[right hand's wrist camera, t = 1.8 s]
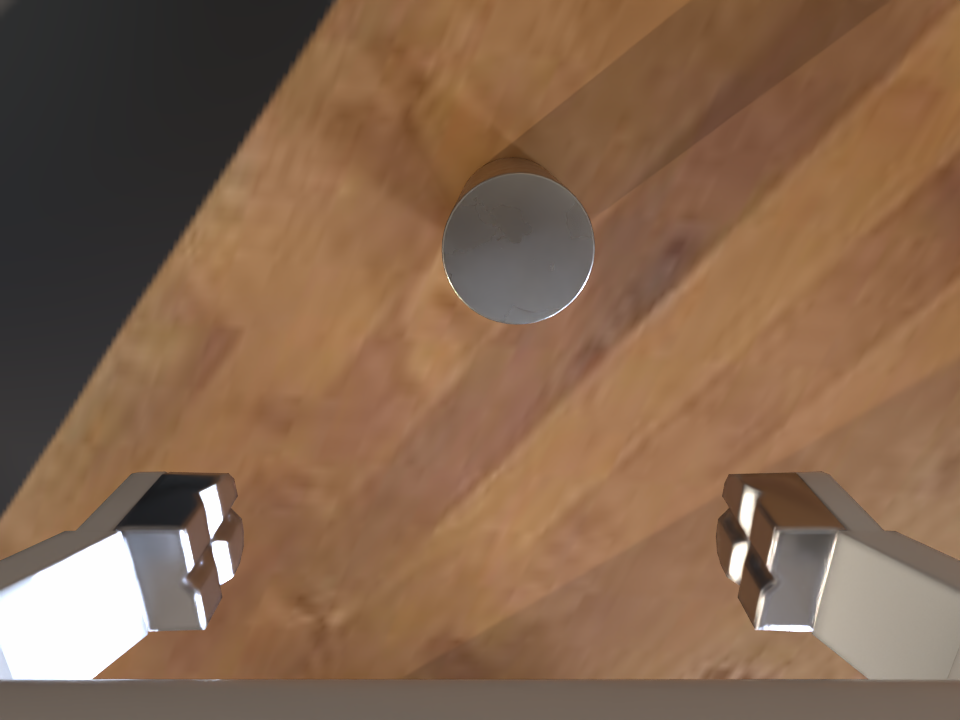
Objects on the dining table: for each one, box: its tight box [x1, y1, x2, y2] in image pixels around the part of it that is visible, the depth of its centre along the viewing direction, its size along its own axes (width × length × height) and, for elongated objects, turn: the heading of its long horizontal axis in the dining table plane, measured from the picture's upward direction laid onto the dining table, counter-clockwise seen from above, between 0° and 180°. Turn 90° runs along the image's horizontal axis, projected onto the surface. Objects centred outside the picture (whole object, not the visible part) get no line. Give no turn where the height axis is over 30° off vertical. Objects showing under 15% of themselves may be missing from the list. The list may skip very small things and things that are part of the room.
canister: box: [442, 157, 595, 324], centre depth 25 cm, size 5×5×10 cm
